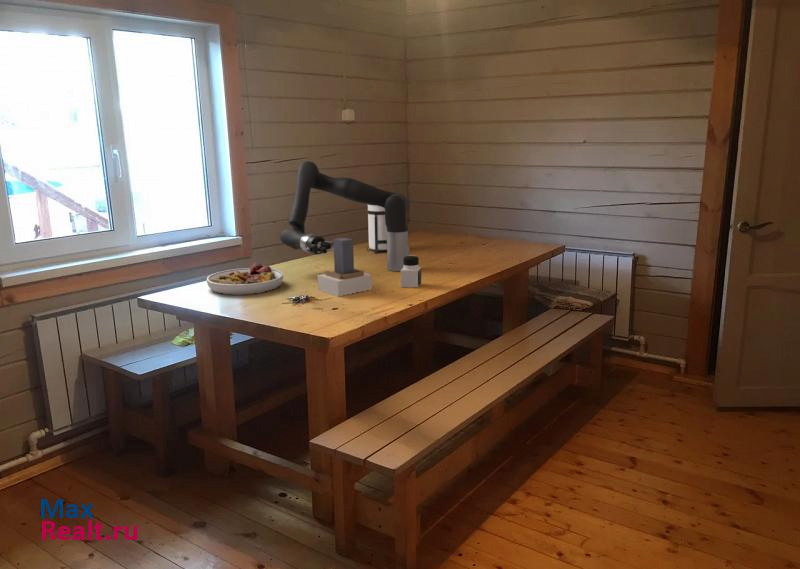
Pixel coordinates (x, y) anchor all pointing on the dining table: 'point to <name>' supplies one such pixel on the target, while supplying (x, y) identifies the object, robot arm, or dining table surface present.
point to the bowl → (245, 280)
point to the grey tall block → (343, 256)
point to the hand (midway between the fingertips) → (335, 249)
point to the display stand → (344, 282)
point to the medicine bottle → (411, 272)
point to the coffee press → (377, 228)
